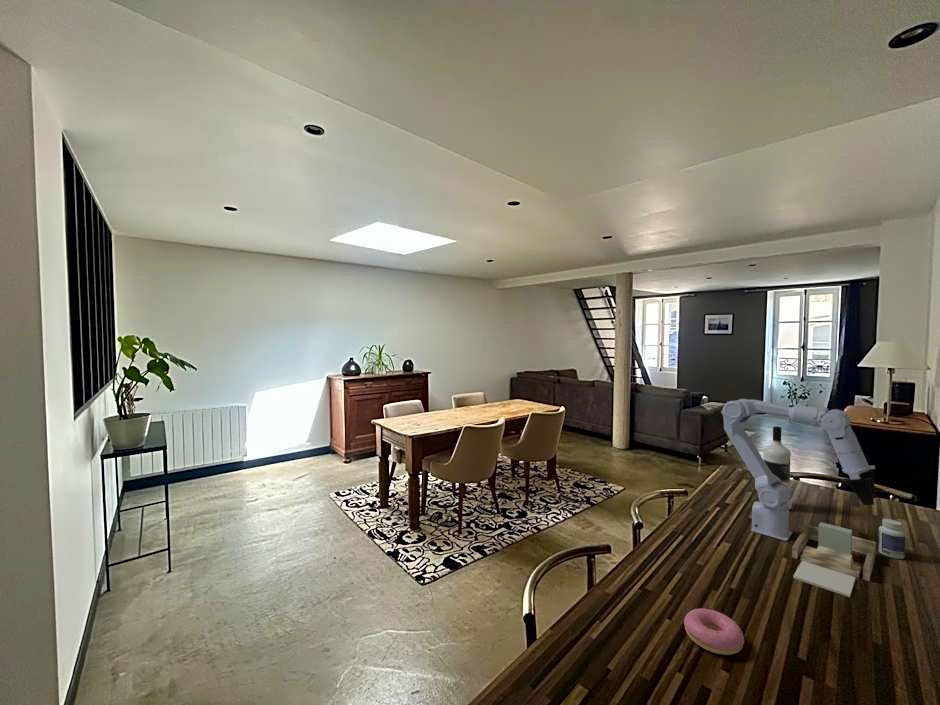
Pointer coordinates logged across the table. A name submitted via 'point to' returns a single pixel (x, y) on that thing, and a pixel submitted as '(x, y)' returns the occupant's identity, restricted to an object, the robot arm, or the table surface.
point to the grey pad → (825, 578)
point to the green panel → (835, 538)
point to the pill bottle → (892, 539)
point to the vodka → (778, 459)
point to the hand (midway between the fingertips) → (870, 501)
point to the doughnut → (714, 631)
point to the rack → (835, 554)
